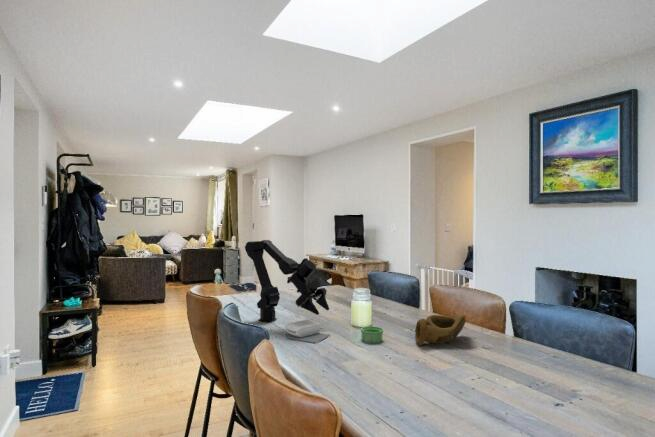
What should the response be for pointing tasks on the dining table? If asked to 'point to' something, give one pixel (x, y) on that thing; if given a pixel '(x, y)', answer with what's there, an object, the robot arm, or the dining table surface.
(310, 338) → the mat
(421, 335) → the brown looped sculpture
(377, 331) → the ramekin
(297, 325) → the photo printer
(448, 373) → the dining table surface
